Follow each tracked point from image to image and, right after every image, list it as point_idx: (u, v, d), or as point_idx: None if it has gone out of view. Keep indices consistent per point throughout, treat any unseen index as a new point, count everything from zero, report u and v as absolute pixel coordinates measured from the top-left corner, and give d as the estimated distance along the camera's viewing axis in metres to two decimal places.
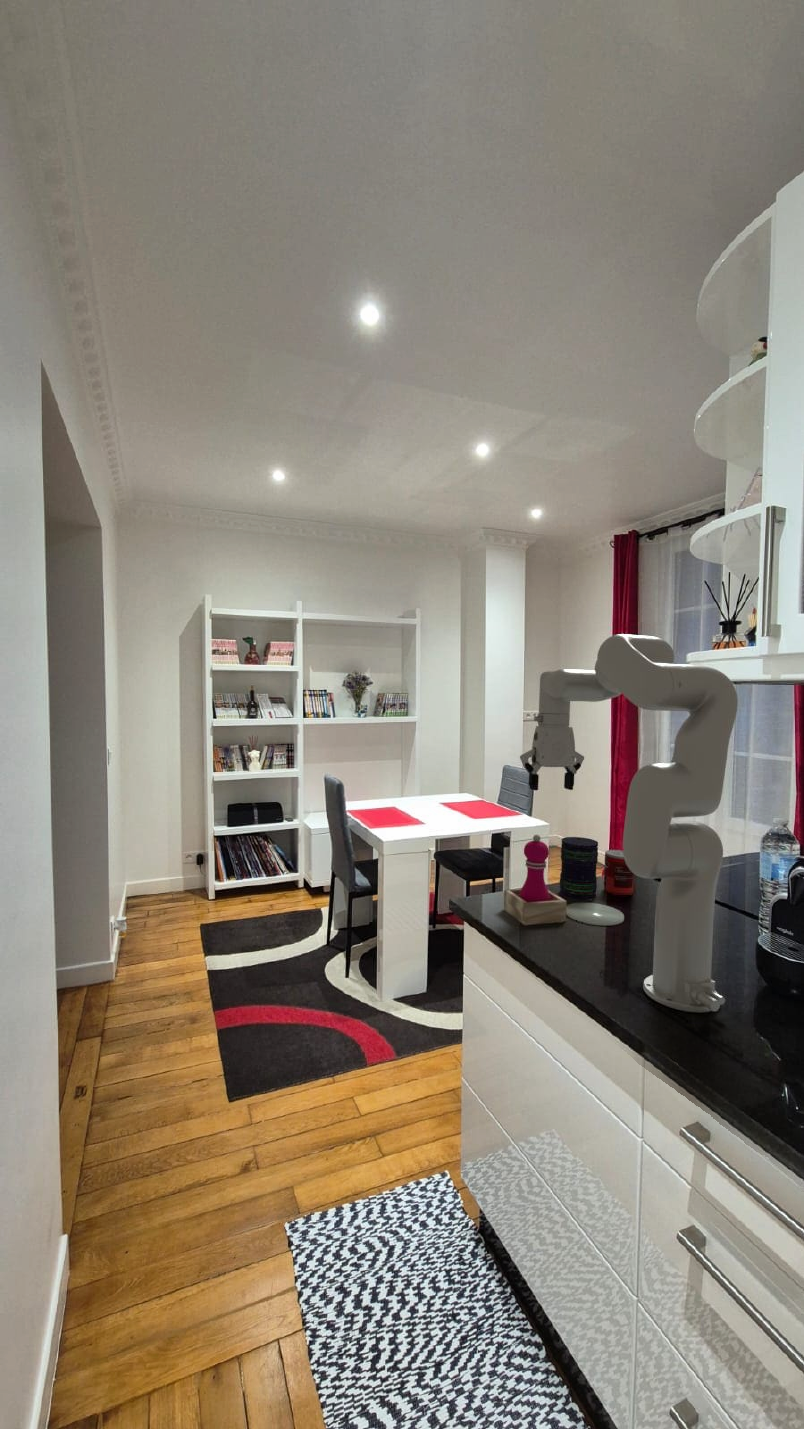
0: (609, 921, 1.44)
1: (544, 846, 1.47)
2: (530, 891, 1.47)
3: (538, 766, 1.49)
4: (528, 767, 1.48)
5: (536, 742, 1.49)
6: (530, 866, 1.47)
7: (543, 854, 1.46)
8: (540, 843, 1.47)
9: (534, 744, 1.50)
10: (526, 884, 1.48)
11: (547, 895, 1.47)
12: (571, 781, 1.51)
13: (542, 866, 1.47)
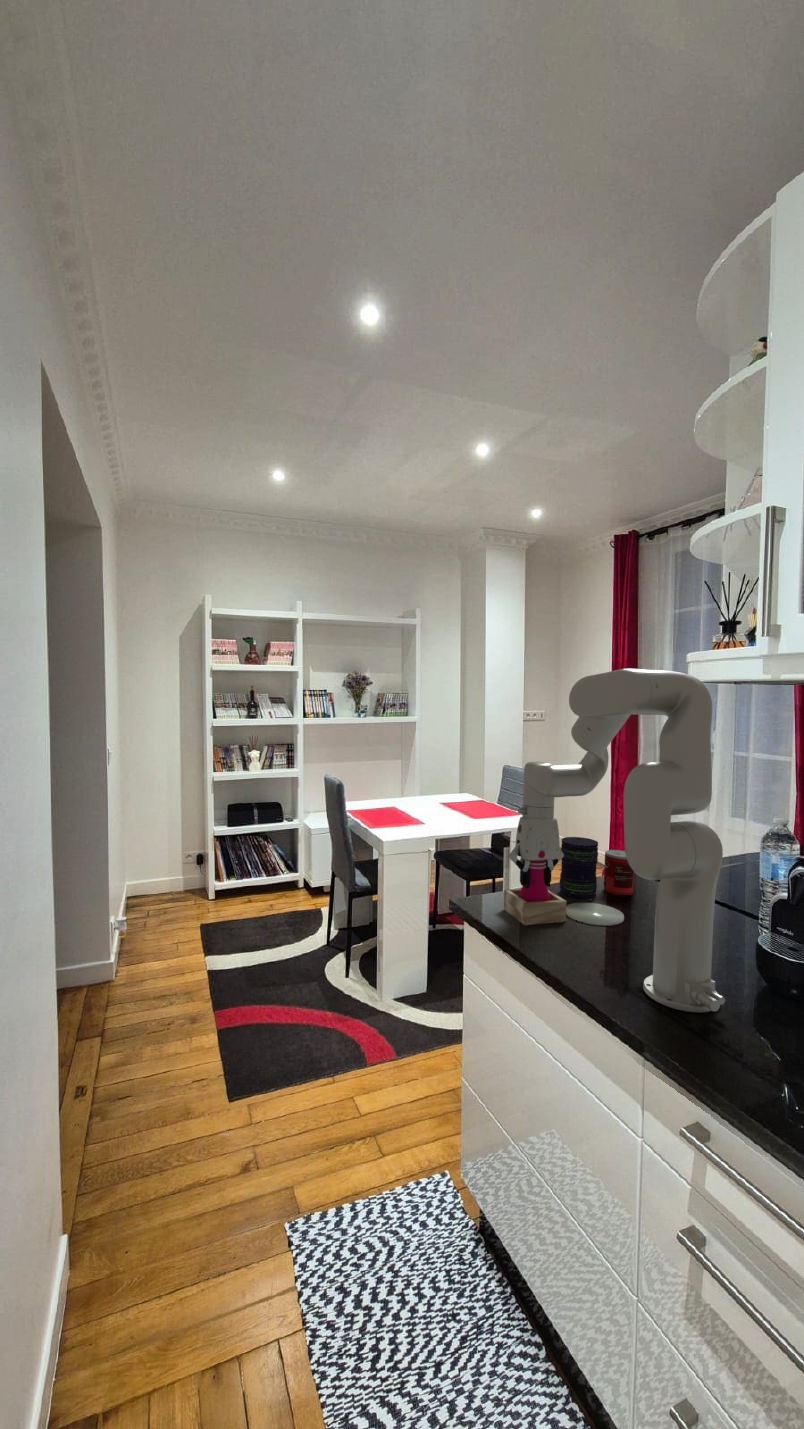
0: (609, 921, 1.44)
1: None
2: (530, 891, 1.47)
3: (527, 862, 1.47)
4: (519, 865, 1.47)
5: (520, 835, 1.47)
6: (530, 866, 1.47)
7: (543, 853, 1.46)
8: None
9: (518, 837, 1.48)
10: None
11: (547, 895, 1.47)
12: (548, 878, 1.48)
13: (542, 866, 1.47)
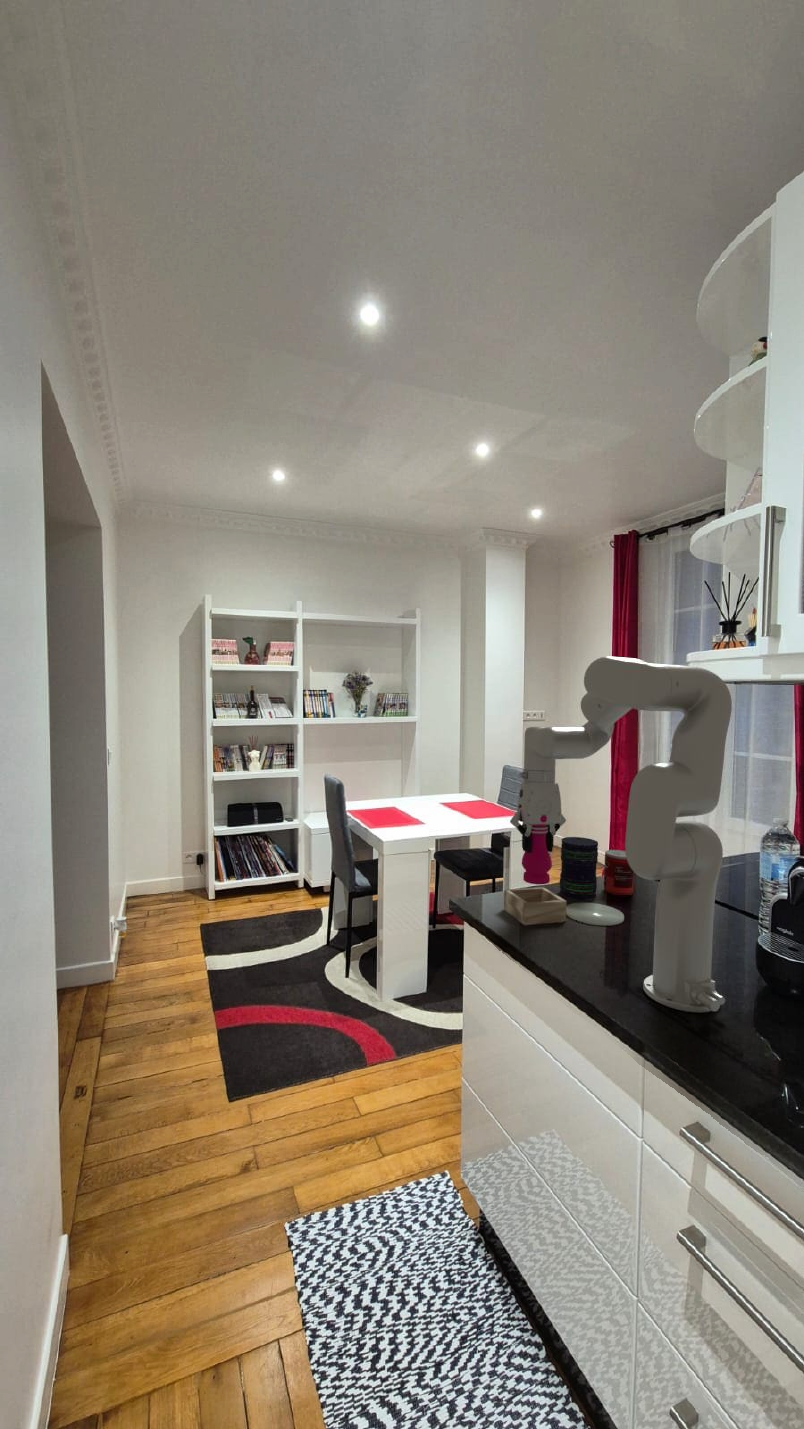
0: (609, 921, 1.44)
1: None
2: (532, 855, 1.46)
3: (529, 827, 1.46)
4: (521, 829, 1.46)
5: (521, 799, 1.46)
6: (532, 831, 1.47)
7: (545, 818, 1.46)
8: None
9: (519, 801, 1.47)
10: None
11: (549, 860, 1.46)
12: (550, 843, 1.48)
13: (544, 830, 1.46)
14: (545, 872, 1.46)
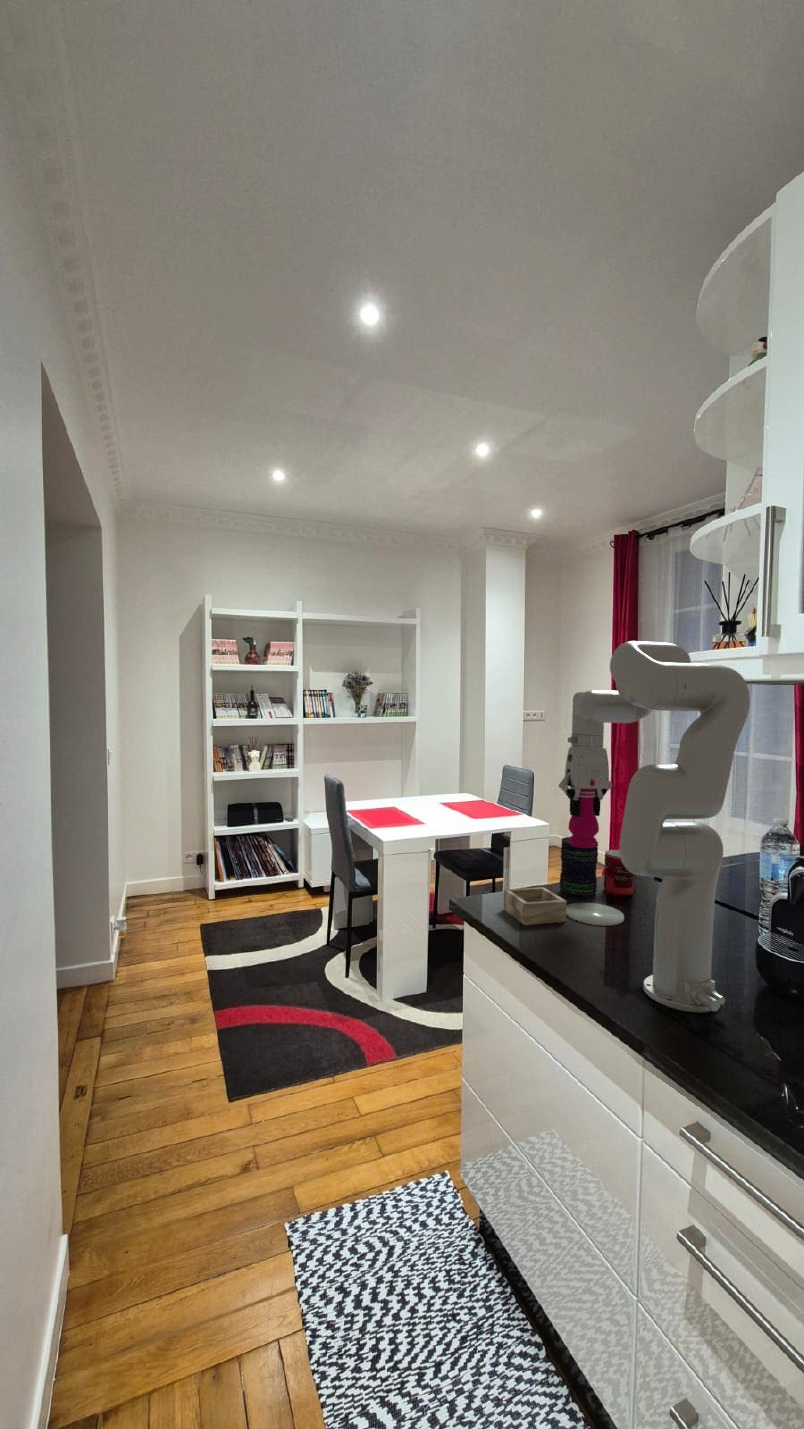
0: (609, 921, 1.44)
1: None
2: (580, 819, 1.47)
3: (577, 791, 1.47)
4: (570, 793, 1.47)
5: (570, 764, 1.47)
6: (580, 795, 1.48)
7: (594, 782, 1.47)
8: None
9: (568, 766, 1.48)
10: None
11: (597, 824, 1.48)
12: (598, 807, 1.49)
13: (592, 795, 1.47)
14: (593, 836, 1.47)
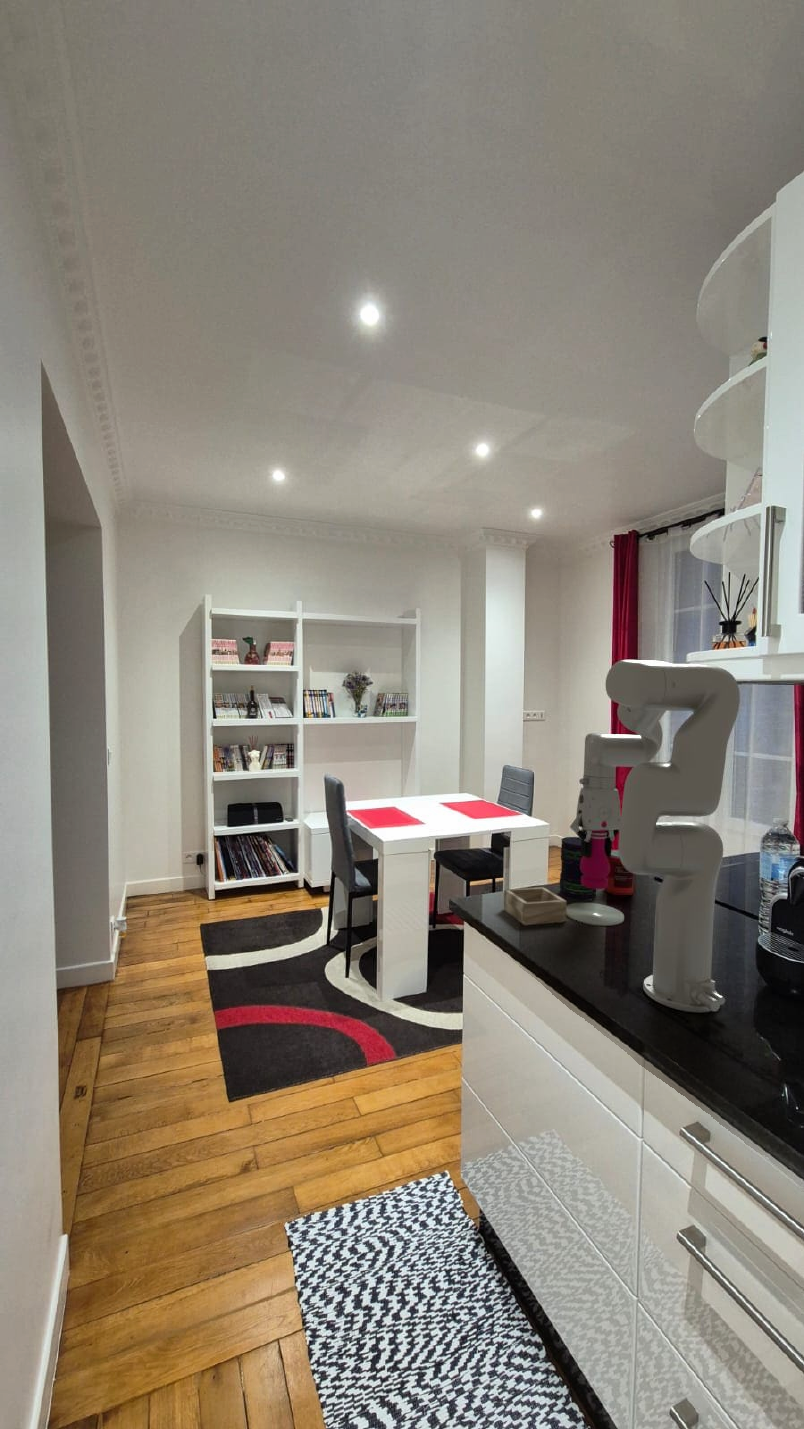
0: (609, 921, 1.44)
1: None
2: (591, 860, 1.48)
3: (589, 832, 1.48)
4: (581, 835, 1.48)
5: (582, 805, 1.48)
6: (591, 836, 1.48)
7: (605, 824, 1.47)
8: None
9: (579, 807, 1.49)
10: None
11: (608, 865, 1.48)
12: (609, 848, 1.50)
13: (603, 836, 1.48)
14: (604, 877, 1.48)
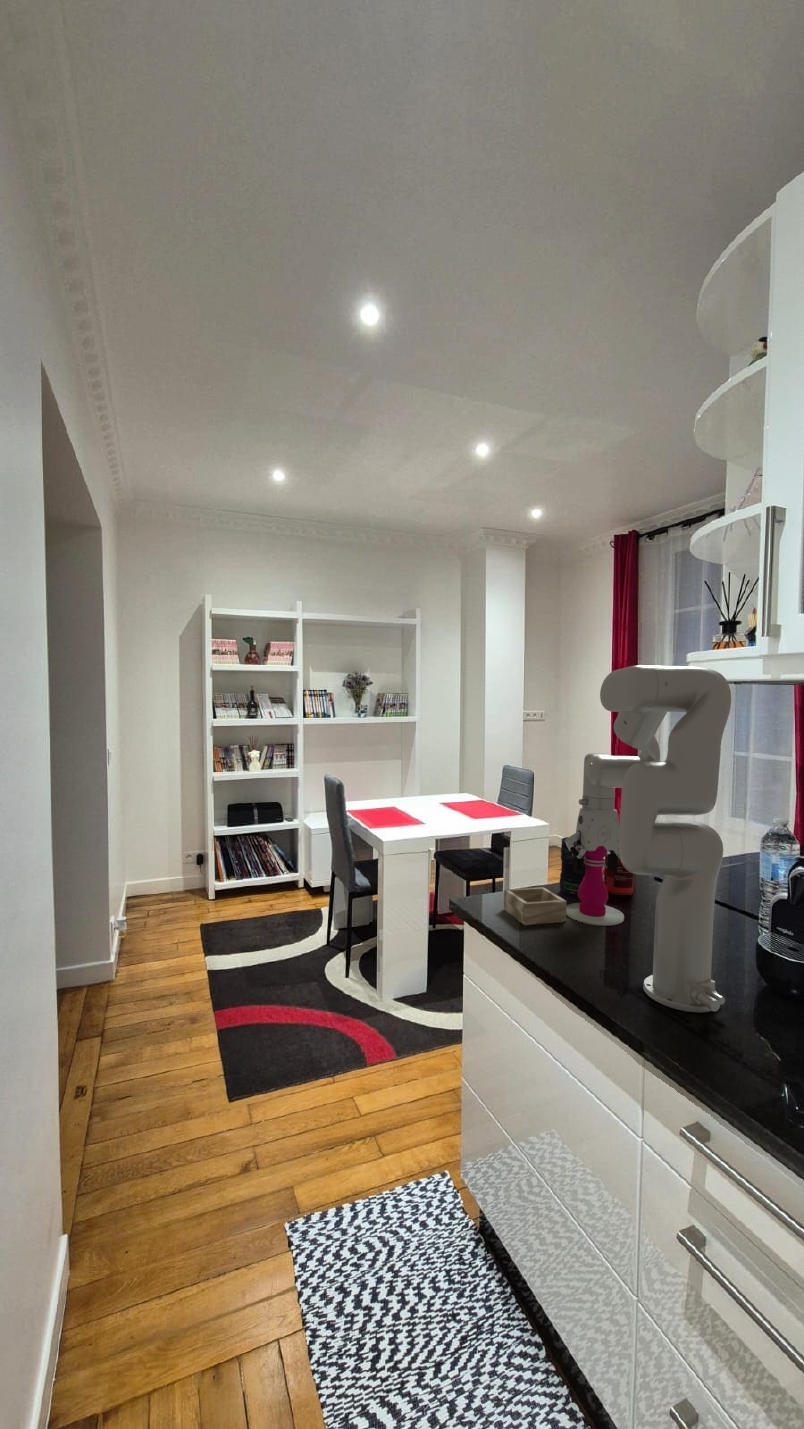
0: (609, 921, 1.44)
1: None
2: (589, 888, 1.47)
3: (583, 850, 1.48)
4: (573, 851, 1.47)
5: (581, 826, 1.48)
6: (589, 863, 1.48)
7: (603, 851, 1.47)
8: None
9: (578, 828, 1.49)
10: (585, 881, 1.49)
11: (606, 892, 1.48)
12: (615, 864, 1.50)
13: (601, 863, 1.48)
14: (602, 904, 1.48)
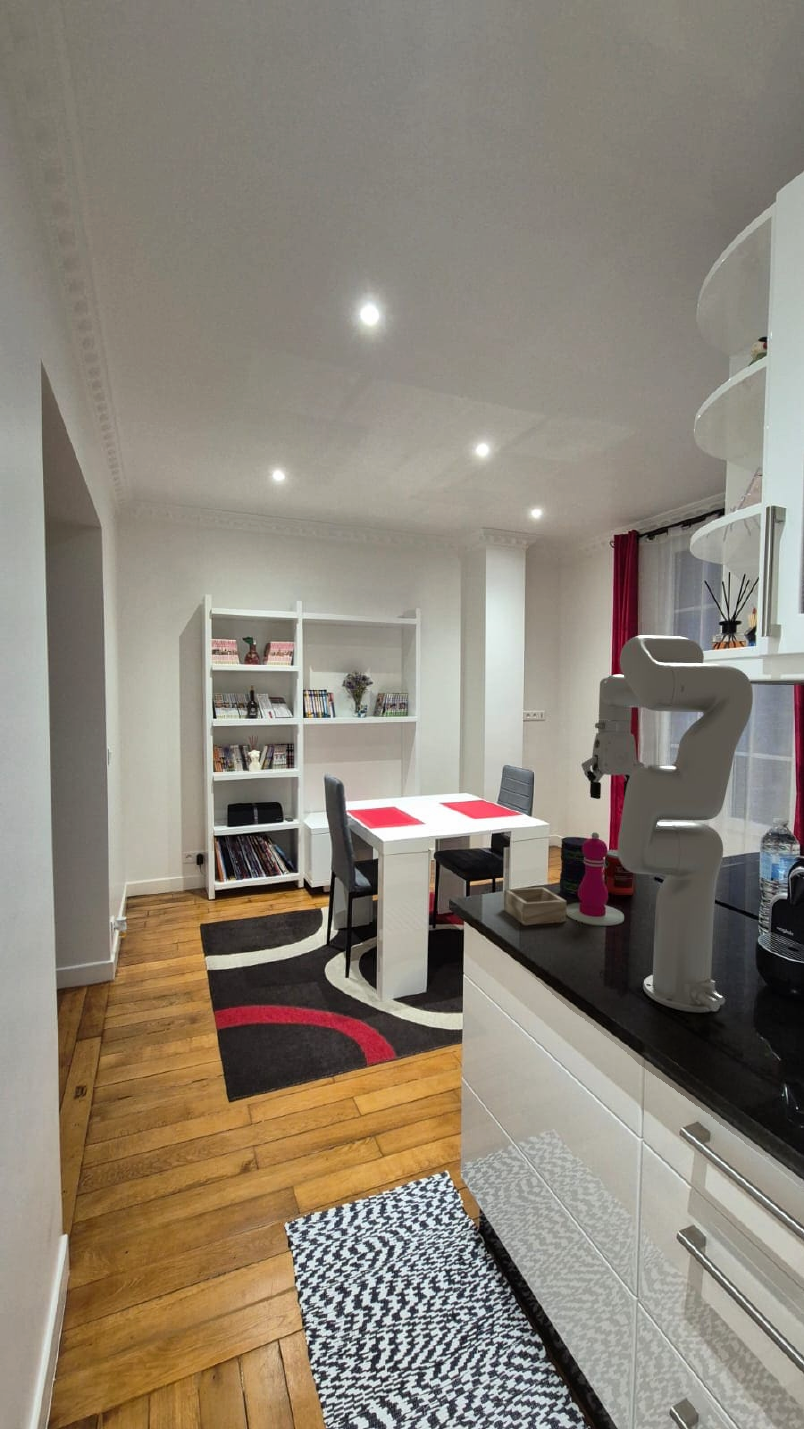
0: (609, 921, 1.44)
1: (603, 844, 1.48)
2: (589, 888, 1.47)
3: (600, 774, 1.45)
4: (590, 775, 1.45)
5: (598, 749, 1.46)
6: (589, 863, 1.48)
7: (603, 851, 1.47)
8: (599, 841, 1.48)
9: (595, 752, 1.47)
10: (585, 881, 1.49)
11: (606, 892, 1.48)
12: None
13: (601, 863, 1.48)
14: (602, 904, 1.48)
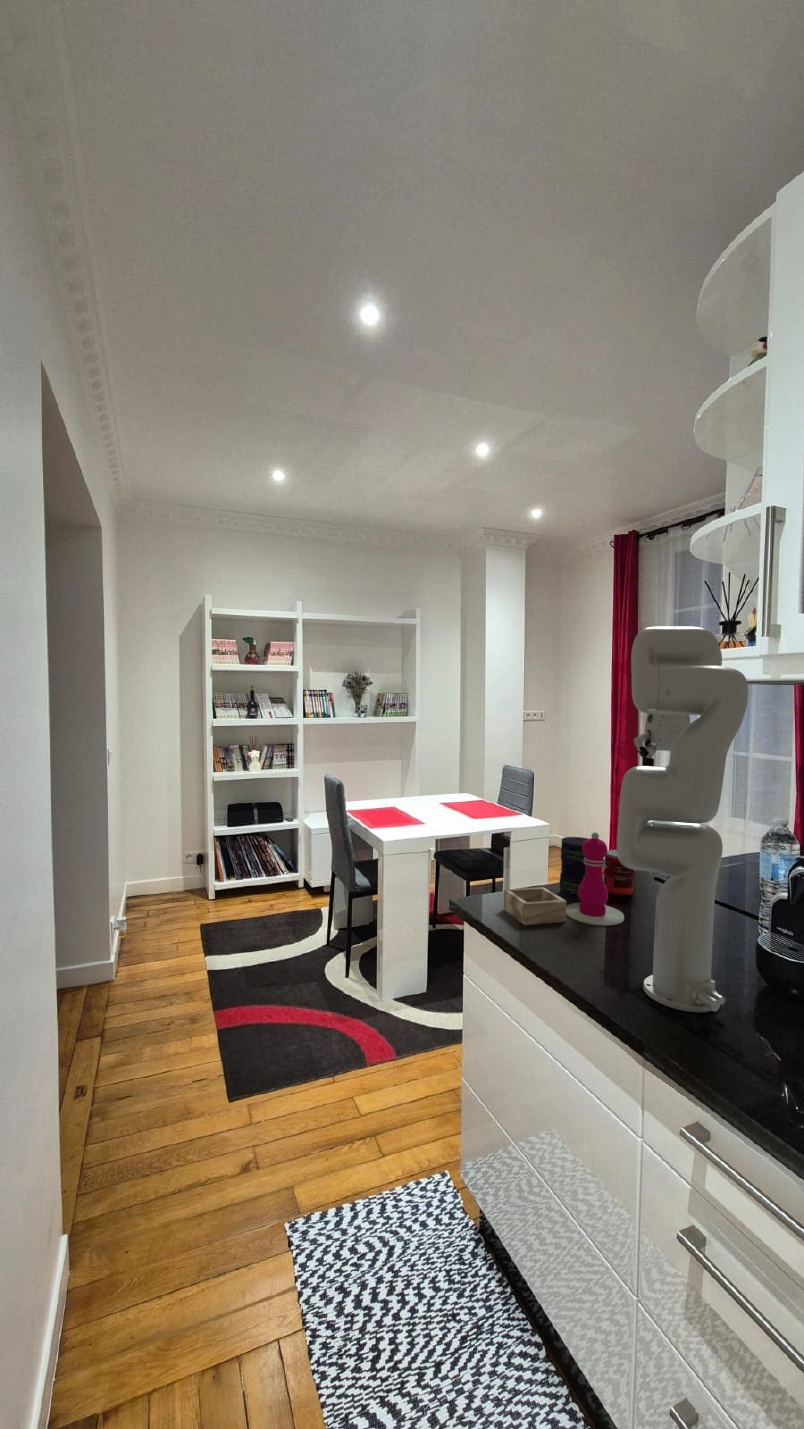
0: (609, 921, 1.44)
1: (603, 844, 1.48)
2: (589, 888, 1.47)
3: (653, 750, 1.41)
4: (643, 751, 1.40)
5: (651, 724, 1.41)
6: (589, 863, 1.48)
7: (603, 851, 1.47)
8: (599, 841, 1.48)
9: (647, 727, 1.42)
10: (585, 881, 1.49)
11: (606, 892, 1.48)
12: None
13: (601, 863, 1.48)
14: (602, 904, 1.48)
